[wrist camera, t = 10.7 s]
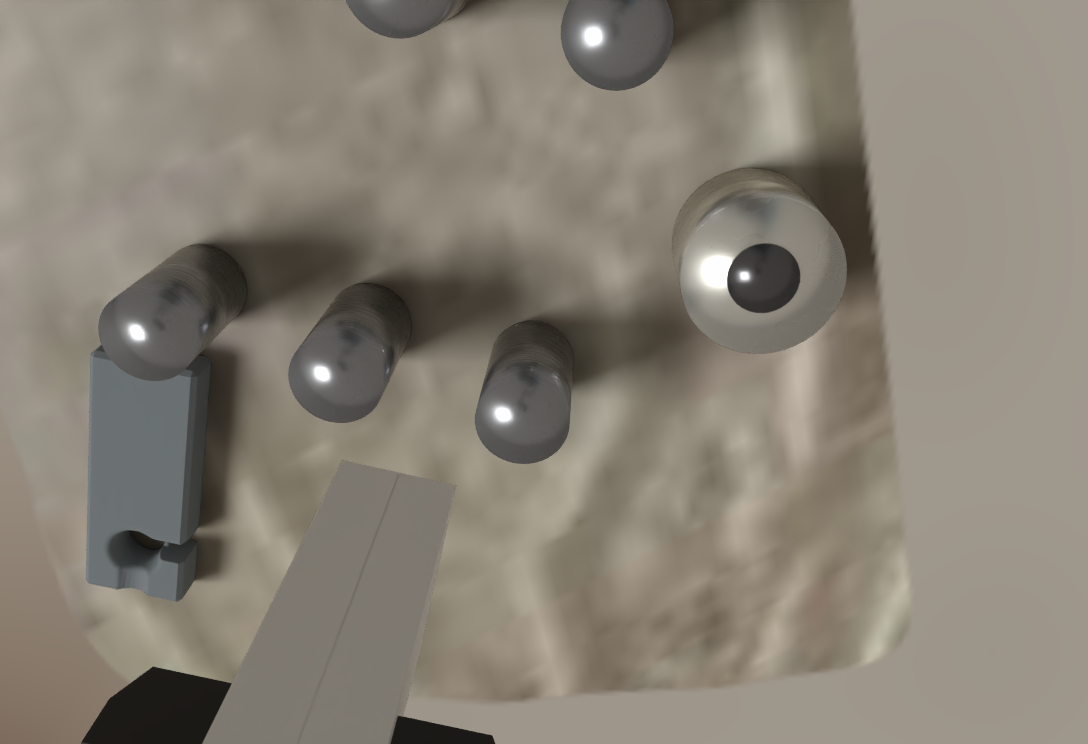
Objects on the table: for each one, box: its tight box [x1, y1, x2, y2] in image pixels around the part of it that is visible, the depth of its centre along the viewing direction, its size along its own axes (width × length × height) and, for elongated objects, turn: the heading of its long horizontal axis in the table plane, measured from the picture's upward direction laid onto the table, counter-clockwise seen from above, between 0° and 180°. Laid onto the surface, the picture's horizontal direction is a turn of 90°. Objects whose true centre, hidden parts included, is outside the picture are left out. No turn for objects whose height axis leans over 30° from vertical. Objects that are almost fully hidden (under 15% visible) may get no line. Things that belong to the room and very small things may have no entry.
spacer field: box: [98, 0, 674, 464], centre depth 30 cm, size 15×15×5 cm
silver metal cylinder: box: [672, 168, 847, 354], centre depth 31 cm, size 5×5×4 cm
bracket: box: [86, 345, 211, 602], centre depth 38 cm, size 4×10×2 cm, turn 168°
